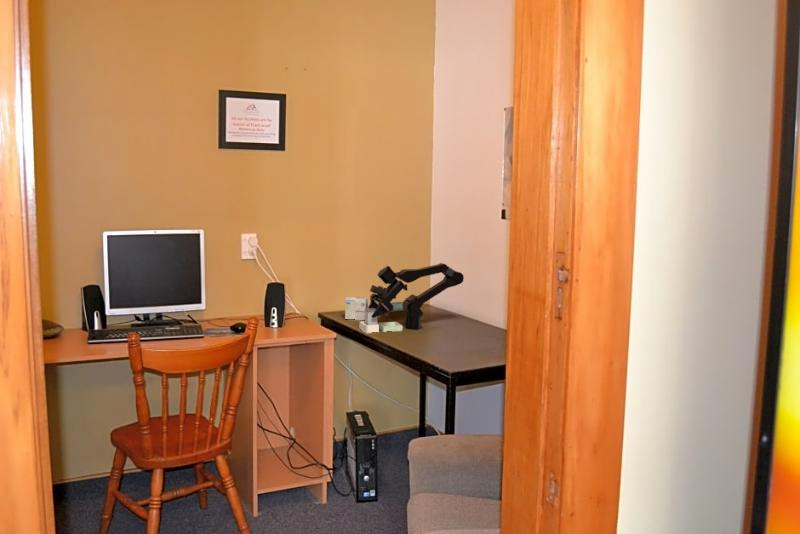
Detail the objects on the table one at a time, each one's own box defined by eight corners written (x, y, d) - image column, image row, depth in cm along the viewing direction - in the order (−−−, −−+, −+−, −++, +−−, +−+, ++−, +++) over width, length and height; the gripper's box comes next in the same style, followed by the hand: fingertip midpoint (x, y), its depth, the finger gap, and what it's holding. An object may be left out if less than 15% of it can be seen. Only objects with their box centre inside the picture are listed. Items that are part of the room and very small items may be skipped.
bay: (372, 328, 334) (372, 320, 333) (378, 332, 325) (378, 324, 324) (359, 328, 332) (359, 321, 331) (365, 333, 322) (365, 325, 322)
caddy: (373, 329, 332) (374, 308, 330) (377, 331, 327) (377, 310, 326) (364, 329, 330) (364, 308, 329) (367, 332, 325) (368, 310, 324)
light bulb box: (368, 318, 358) (368, 297, 357) (366, 320, 352) (366, 299, 350) (347, 317, 359) (347, 296, 358) (344, 320, 353) (344, 298, 351)
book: (371, 313, 375) (371, 303, 374) (401, 311, 382) (401, 301, 382) (389, 321, 354) (389, 311, 354) (420, 318, 362) (420, 309, 361)
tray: (395, 327, 337) (395, 321, 337) (402, 330, 329) (402, 325, 329) (377, 328, 334) (377, 322, 334) (383, 332, 326) (383, 326, 325)
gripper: (374, 276, 336) (351, 300, 333) (387, 281, 319) (363, 307, 316) (389, 292, 340) (367, 316, 337) (403, 298, 322) (379, 323, 320)
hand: (369, 315), depth 327 cm, fingers open, 9 cm apart
